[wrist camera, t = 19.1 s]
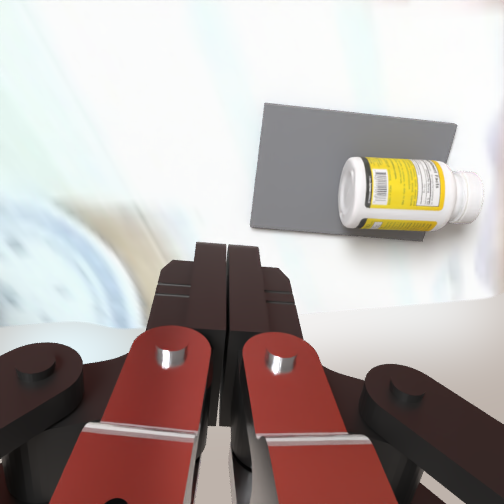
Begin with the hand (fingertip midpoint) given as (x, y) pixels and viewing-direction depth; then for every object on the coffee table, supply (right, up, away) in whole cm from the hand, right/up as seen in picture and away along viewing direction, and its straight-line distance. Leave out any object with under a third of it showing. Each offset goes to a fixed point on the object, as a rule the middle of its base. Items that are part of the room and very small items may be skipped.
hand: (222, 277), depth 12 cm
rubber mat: (+9, +7, +27) cm, 29 cm away
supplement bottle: (+8, +5, +24) cm, 26 cm away
